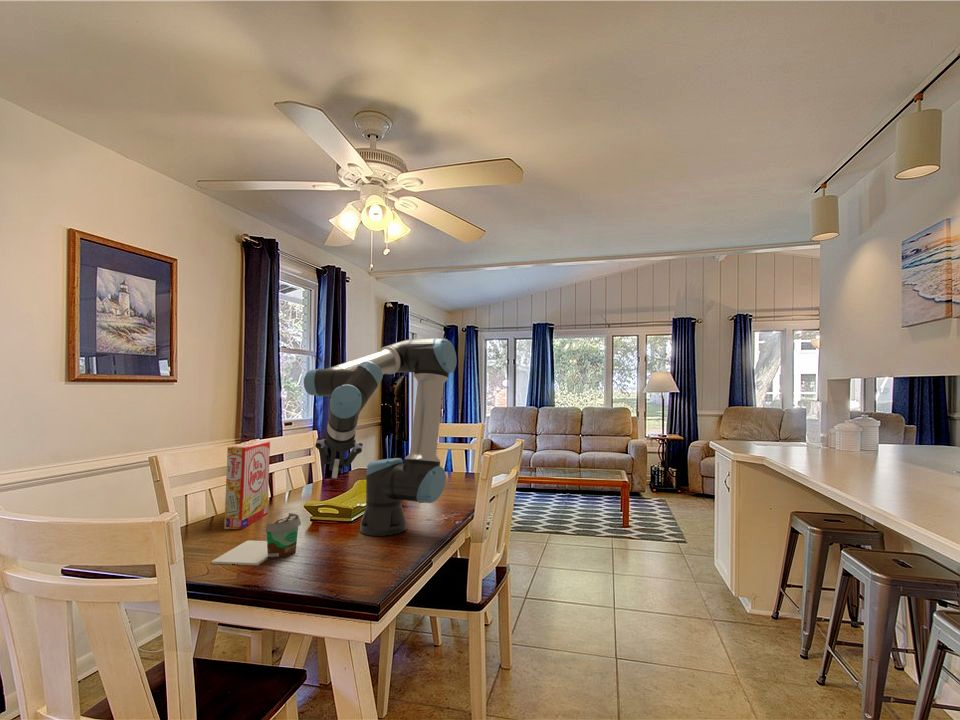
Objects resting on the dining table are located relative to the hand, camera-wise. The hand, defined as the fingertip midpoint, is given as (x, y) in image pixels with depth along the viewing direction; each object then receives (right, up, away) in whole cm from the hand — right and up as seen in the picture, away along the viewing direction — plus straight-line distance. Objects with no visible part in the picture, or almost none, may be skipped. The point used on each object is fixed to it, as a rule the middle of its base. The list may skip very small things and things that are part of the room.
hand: (335, 474), depth 151 cm
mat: (-21, -20, -9) cm, 31 cm away
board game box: (-38, -22, +24) cm, 50 cm away
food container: (-11, -21, -9) cm, 25 cm away
